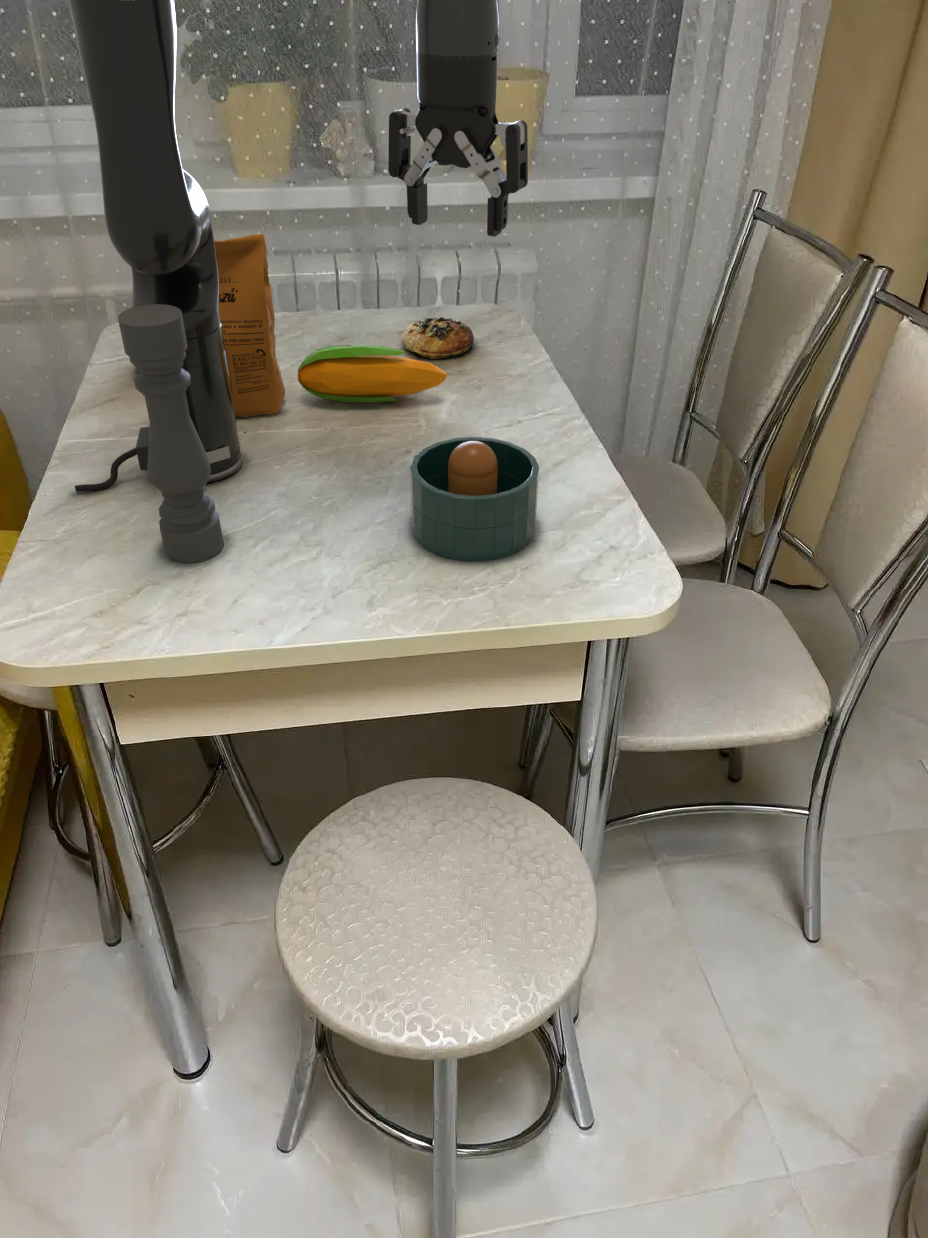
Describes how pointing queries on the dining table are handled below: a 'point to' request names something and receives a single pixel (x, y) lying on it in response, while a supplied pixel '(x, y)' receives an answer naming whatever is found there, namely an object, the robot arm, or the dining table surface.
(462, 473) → the brown rounded cylinder
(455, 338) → the bread roll
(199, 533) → the candle holder
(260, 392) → the coffee package
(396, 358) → the corn
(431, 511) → the pot
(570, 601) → the dining table surface
